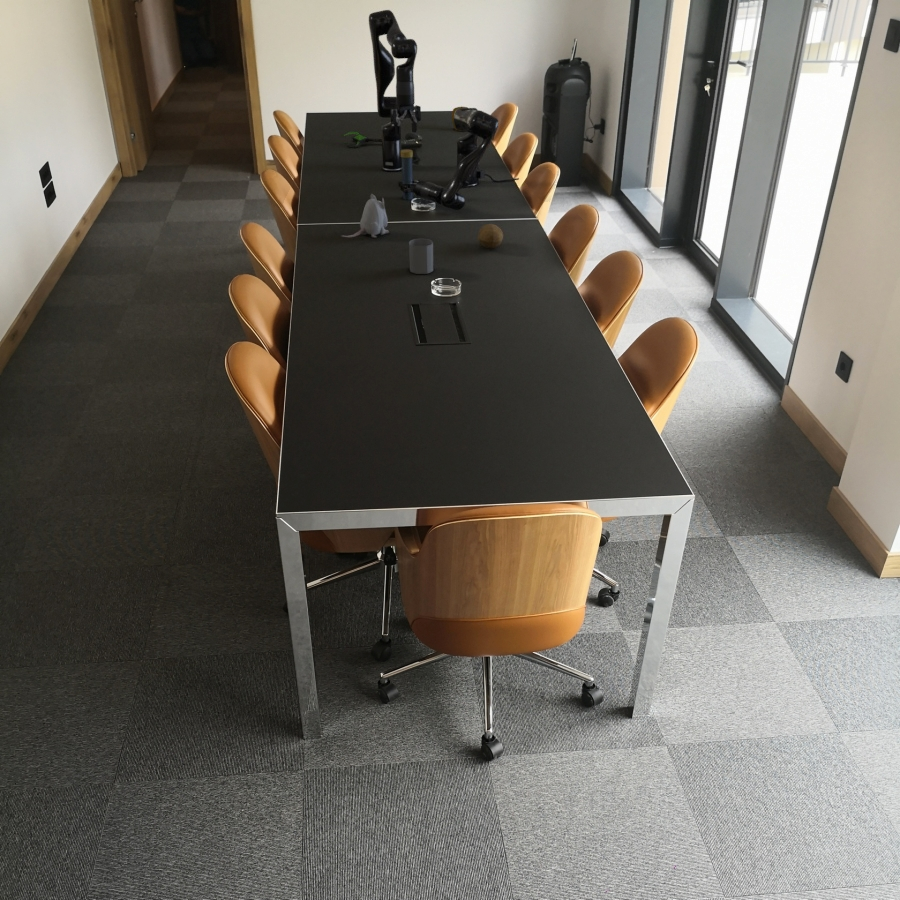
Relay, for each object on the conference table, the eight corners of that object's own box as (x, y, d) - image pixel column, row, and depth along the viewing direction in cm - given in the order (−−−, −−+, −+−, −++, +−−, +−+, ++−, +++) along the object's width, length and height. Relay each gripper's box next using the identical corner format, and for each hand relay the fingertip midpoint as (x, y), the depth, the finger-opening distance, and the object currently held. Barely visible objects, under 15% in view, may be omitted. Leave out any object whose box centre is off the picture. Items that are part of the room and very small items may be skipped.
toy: (394, 233, 341) (393, 195, 333) (349, 248, 327) (347, 208, 319) (379, 228, 347) (377, 190, 338) (334, 242, 332) (331, 203, 324)
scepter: (399, 128, 463) (342, 126, 461) (399, 144, 456) (341, 141, 454) (398, 138, 468) (343, 136, 466) (398, 153, 461) (342, 151, 459)
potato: (500, 240, 334) (501, 219, 330) (505, 252, 323) (505, 231, 318) (475, 240, 334) (475, 220, 330) (479, 253, 322) (479, 232, 318)
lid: (401, 154, 374) (401, 149, 373) (413, 154, 373) (413, 149, 372) (399, 157, 370) (399, 152, 368) (411, 157, 369) (411, 152, 368)
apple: (471, 132, 486) (471, 108, 479) (451, 132, 486) (451, 108, 479) (470, 128, 495) (471, 104, 488) (452, 128, 495) (452, 104, 488)
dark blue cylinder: (403, 196, 383) (402, 150, 373) (413, 197, 383) (412, 150, 372) (402, 199, 380) (400, 153, 369) (412, 200, 379) (411, 153, 368)
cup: (409, 265, 311) (408, 238, 306) (432, 265, 312) (431, 238, 307) (410, 274, 304) (409, 246, 299) (433, 273, 305) (433, 246, 299)
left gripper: (414, 89, 364) (414, 129, 373) (385, 92, 356) (387, 134, 365) (424, 91, 359) (425, 132, 368) (396, 95, 351) (397, 137, 360)
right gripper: (440, 179, 370) (416, 171, 381) (414, 185, 363) (390, 176, 374) (440, 196, 375) (416, 188, 386) (414, 203, 367) (390, 194, 378)
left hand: (406, 133), depth 366 cm, fingers open, 7 cm apart
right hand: (403, 182), depth 380 cm, fingers closed on dark blue cylinder, 4 cm apart
